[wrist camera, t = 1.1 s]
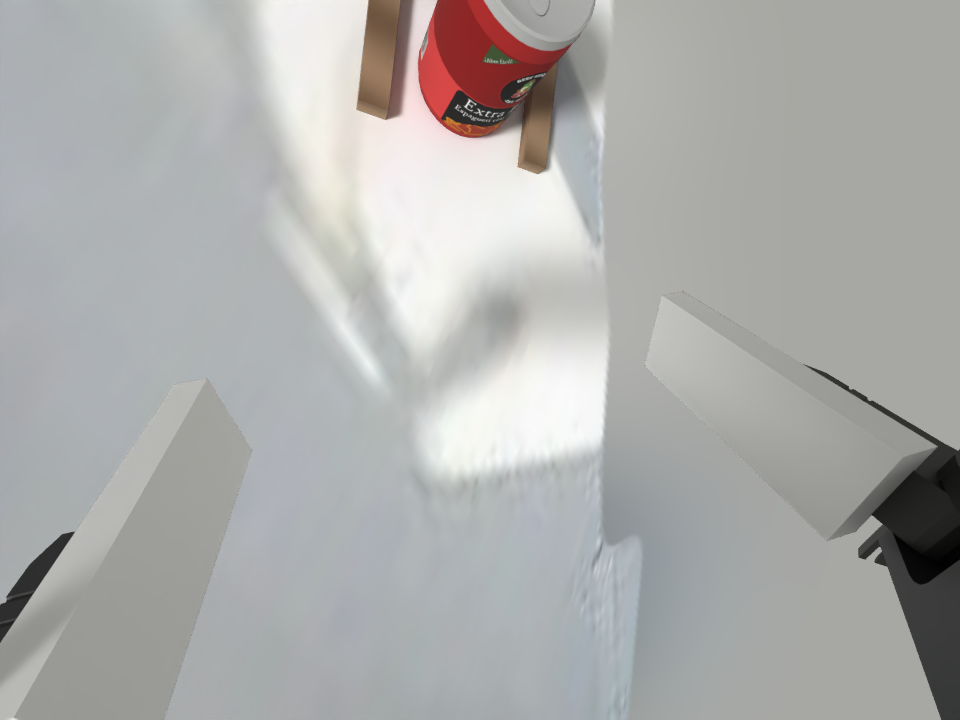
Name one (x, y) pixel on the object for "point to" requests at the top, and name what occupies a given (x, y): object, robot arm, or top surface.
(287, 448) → the top surface
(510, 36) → the canned food
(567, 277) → the top surface
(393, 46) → the walnut cradle
